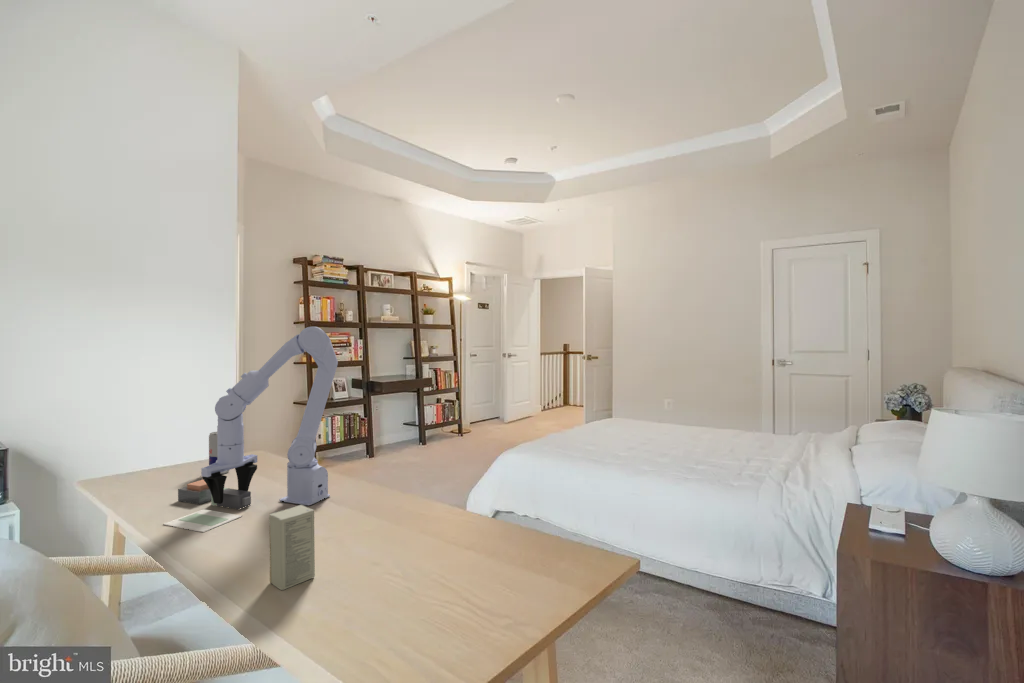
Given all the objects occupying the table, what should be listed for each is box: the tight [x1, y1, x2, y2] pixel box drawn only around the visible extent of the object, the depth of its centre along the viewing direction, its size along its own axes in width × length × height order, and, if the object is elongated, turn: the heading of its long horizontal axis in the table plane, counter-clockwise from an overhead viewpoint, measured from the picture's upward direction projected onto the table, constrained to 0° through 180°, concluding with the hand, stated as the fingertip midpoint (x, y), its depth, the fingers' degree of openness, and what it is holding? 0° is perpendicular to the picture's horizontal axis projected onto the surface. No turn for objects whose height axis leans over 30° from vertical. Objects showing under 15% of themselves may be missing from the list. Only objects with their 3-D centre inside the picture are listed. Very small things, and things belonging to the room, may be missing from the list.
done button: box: [186, 479, 209, 491], centre depth 133 cm, size 4×4×2 cm
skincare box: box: [268, 504, 316, 591], centre depth 90 cm, size 6×4×12 cm
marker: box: [210, 487, 252, 510], centre depth 128 cm, size 10×3×3 cm, turn 70°
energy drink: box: [208, 431, 230, 475], centre depth 156 cm, size 5×5×12 cm
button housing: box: [177, 486, 211, 505], centre depth 133 cm, size 7×7×3 cm
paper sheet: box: [162, 508, 243, 533], centre depth 118 cm, size 12×10×1 cm
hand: (230, 498), depth 128 cm, fingers open, 7 cm apart
